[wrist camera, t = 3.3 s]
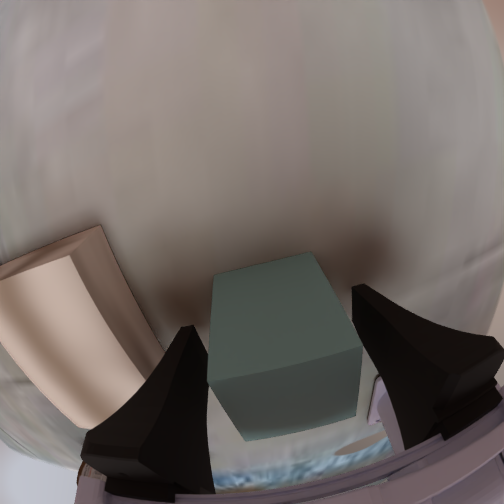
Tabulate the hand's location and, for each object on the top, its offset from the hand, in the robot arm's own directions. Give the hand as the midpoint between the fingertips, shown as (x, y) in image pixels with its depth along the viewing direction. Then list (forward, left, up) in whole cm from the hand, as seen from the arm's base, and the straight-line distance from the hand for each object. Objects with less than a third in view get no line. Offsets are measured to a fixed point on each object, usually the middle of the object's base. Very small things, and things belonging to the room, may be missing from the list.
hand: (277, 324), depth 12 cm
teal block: (0, 0, -2) cm, 2 cm away
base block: (+11, 0, -2) cm, 11 cm away
